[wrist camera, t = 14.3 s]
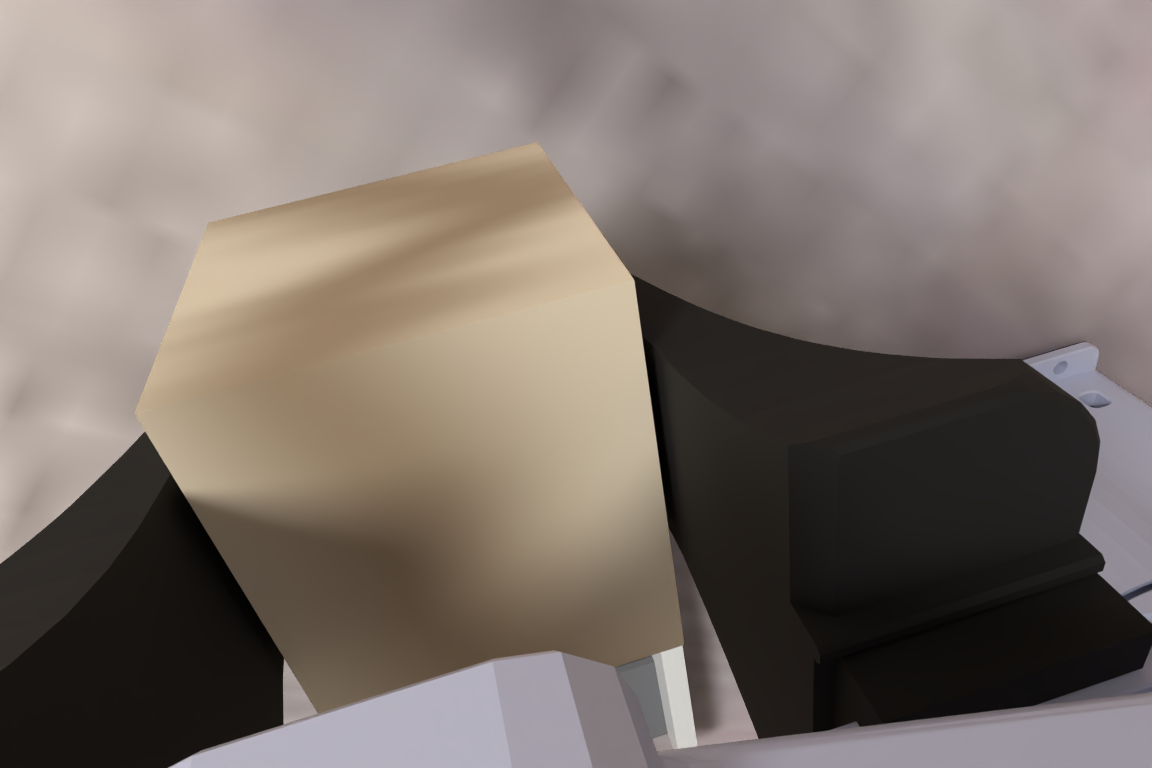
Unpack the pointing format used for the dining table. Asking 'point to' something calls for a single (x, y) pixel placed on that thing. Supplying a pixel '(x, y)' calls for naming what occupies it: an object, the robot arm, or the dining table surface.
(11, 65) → the dining table surface
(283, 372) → the maple block
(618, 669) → the white u-shaped piece
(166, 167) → the dining table surface
